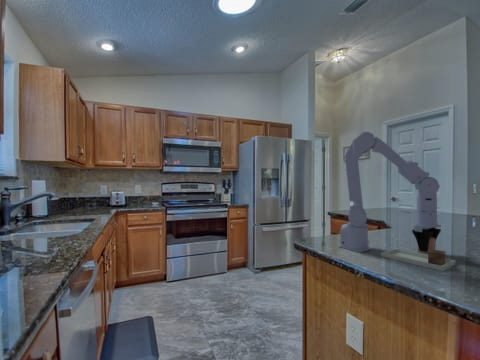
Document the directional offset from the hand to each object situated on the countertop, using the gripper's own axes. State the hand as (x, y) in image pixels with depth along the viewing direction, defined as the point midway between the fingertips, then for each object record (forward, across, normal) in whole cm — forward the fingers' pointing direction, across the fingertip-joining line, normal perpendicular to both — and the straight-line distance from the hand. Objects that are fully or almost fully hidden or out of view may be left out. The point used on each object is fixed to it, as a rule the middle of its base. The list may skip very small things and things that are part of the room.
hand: (426, 250), depth 90 cm
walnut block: (+1, -11, -6) cm, 13 cm away
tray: (+2, -11, -1) cm, 11 cm away
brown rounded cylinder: (+2, 0, 0) cm, 2 cm away
